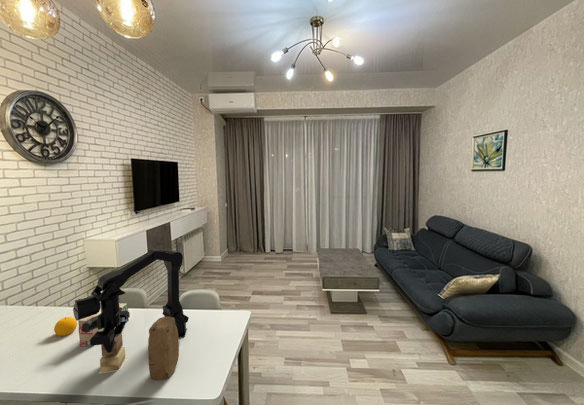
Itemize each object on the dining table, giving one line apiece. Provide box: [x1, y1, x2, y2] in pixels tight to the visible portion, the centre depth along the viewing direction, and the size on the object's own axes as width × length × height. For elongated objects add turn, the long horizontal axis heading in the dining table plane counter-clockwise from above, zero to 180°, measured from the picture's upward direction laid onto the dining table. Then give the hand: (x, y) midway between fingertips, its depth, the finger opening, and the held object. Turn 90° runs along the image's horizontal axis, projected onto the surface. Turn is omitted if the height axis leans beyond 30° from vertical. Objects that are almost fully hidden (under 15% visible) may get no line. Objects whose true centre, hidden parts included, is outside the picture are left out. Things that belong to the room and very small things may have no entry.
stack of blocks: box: [77, 302, 130, 347], centre depth 119 cm, size 21×6×12 cm, turn 176°
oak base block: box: [99, 346, 126, 372], centre depth 98 cm, size 6×6×5 cm
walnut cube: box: [100, 332, 124, 357], centre depth 97 cm, size 5×5×5 cm
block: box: [147, 316, 180, 381], centre depth 95 cm, size 11×8×20 cm
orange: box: [53, 316, 78, 337], centre depth 119 cm, size 8×8×8 cm
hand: (112, 347), depth 97 cm, fingers closed on walnut cube, 5 cm apart
